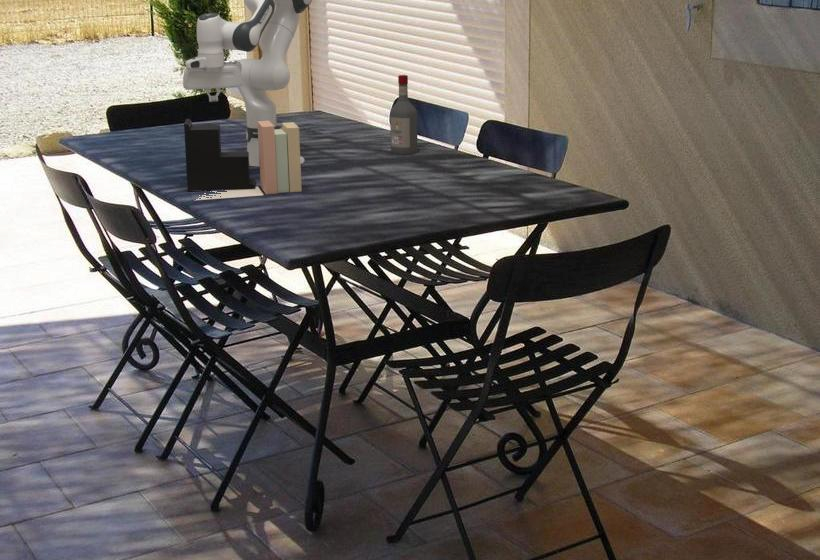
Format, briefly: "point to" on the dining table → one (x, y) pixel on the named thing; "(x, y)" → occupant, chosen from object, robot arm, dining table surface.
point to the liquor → (403, 122)
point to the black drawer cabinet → (213, 161)
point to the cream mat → (233, 193)
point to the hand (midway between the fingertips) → (213, 101)
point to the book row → (279, 157)
